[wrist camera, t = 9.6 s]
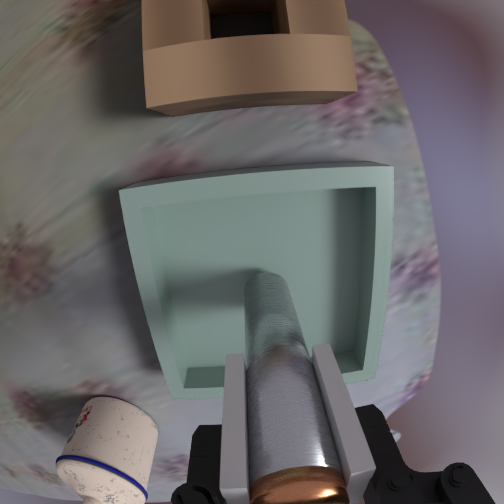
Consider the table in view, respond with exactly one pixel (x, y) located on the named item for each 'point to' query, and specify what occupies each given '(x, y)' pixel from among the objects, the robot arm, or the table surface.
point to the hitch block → (245, 56)
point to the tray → (261, 262)
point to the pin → (285, 405)
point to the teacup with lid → (109, 453)
